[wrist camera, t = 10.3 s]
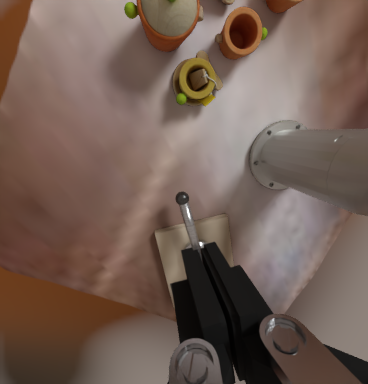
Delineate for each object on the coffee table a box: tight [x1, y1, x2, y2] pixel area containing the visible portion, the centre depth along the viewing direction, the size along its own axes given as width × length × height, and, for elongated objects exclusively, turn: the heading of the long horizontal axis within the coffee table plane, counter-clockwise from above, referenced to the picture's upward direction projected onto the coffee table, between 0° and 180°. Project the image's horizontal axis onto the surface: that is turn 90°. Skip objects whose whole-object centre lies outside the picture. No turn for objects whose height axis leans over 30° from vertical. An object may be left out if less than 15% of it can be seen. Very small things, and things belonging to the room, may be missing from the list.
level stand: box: [155, 214, 234, 309], centre depth 41 cm, size 14×18×2 cm
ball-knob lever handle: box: [176, 192, 207, 260], centre depth 36 cm, size 23×6×4 cm, turn 15°
